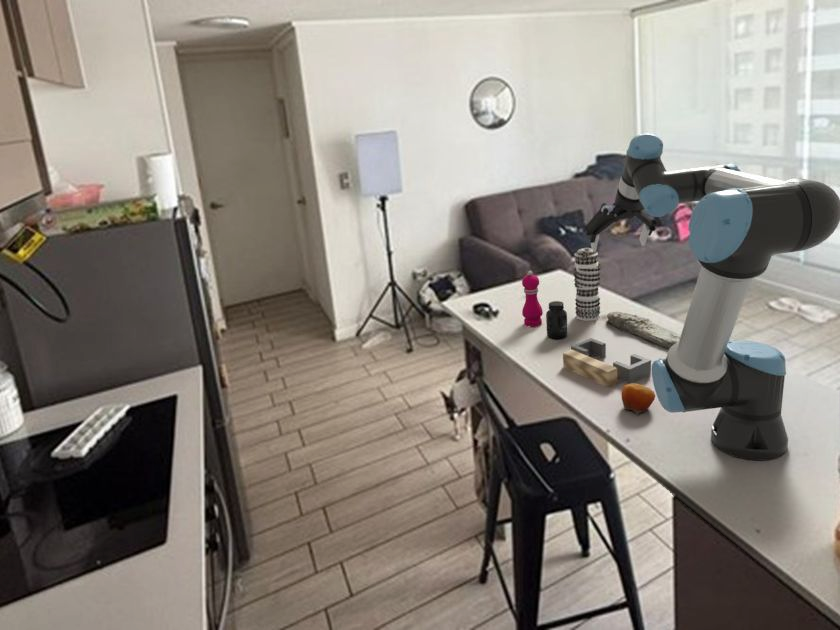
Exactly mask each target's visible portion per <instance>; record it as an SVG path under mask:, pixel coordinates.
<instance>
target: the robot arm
mask: <svg viewBox="0 0 840 630" xmlns="http://www.w3.org/2000/svg"><path fill="white" fill-rule="evenodd" d="M663 148H664V142H663V140H661V138H660V137H659V136H657V135H656V134H652V133H641V134H637V135H636V136H634V137H632V139H631V140H630V142H629V146H628V148H627V150H626V155H625V160H624V164H623V168H622V171H621V175H620V180H619V182H618V188H617V189H616V193H615V198H614V203H613V204H611V205H607V204H606V203H602V204H601V205H600V208H599V210H598V211H597V212H596V213H595V214H594V216H593V217H592V218H591V219H590V220H589V222H587V224H586V225H585V226H584V227H583V228H584V231H585V233H586V236H588V237H589V238H588V239H589V240H590V241H589V242H590V248H592V250H593V252H597V249H598V245H599V240H600V233H602V232H603V231H605V230H606V229H607V228H608V227H610V226H611V225H612V224H613V223H617V222H619V221H620V220H625V219H634V217H636V218H637V219H638V220H641V222H642V223H643V225H642V229H641V232H640V235H639V238H638V240H639V242H640V244H641V247H645V246H646V242H647V240H648V237H649V236H651V235H652V233H653V232H655V231H656V227H659V228H660V227H662V226H663V224H662V221H661V217H664V216H665V215H667V214H672V213H673V212H674V211H675V210H676V209H677V207H679V205H680V204H688V203H693V202H697V203H696V204H695V206H694V208H693V210H692V212H691V215H690V218H689V222H688V229H687V230H688V231H689V235H688V237H687V238H688V245H689V248H690V251H691V253H692V254H693V256H694V257H695V259H696V261H697V263H698V264H699V266H700V269H699V273H698V277H697V279H696V283H695V287H694V290H693V294H692V297H691V300H690V303H689V307H688V311H687V314H686V318H685V321H684V324H683V328H682V330H681V334H680V335H681V337H680V340H679V342H678V343H676V344H674V345H673V346H672V347H671V348H670V349H668V352H667V354H666V358H665V359H664V358H663V359H662V358H658V359H657V360H655V361H653V362H652V363H651V377H652V383H653V387H654V388H653V389H654V392H655V395H656V396H657V399H658V402H659V403H660V405H661V406H662V408H663V409H664V410H665V411H666V412H668V413H686V412H695V411H704V410H712V409H719V408H720V409H719V411H718V413H717V415H716V417H715V419H714V422H713V423H712V426H711V430H710V431H711V433H710V439H711V442H712V443H713V445H714V446H715V447H716V448H717V449H719V450H720V451H722V452H724V453H725V454H728V455H730V456H732V457H736V458H739V459H744V460H750V461H769V460H775V459H778V458H780V457H782V456H783V455H784V454H785V453H786V452H787V450H788V447H789V445H788V444H789V435H788V433H787V431H786V426H785V423H784V419H783V416H782V408H783V398H784V389H785V388H784V387H785V378H786V377H785V376H786V375H787V371H786V365H787V364H786V357H785V355H784V354H783V353H782V351H780V350H779V349H778V348H776V347H774V346H772V345H769V344H767V343H762V342H759V341H754V340H745V339H743V340H741V339H739V340H738V339H736V340H731V341H730V339H731V337H732V333H733V330H734V328H735V325H736V323H737V321H738V318H739V315H740V313H741V310H742V307H743V305H744V302H745V300H746V297H747V294H748V291H749V289H750V286H751V283H752V281H753V280H754V279H755V278H756V279H757V278H758V277H760V276H762V275H763V274H764V273H765V272H766V270H767V269H768V267H769V264H770V262H771V260H772V257H773V256H774V255H781V254H788V253H795V252H801V251H806V250H809V249H813V248H814V247H817V246H819V245H821V244H822V243H824V242H825V241H826V240H828V238H830V237H831V235H833V234H834V232H835V231H836V229H837V228H838V226H839V224H840V197H839V195H838V194H837V193H836V191H835V190H834V189H833V188H832V187H830V185H827V184H825V183H824V182H820V181H816V180H811V179H805V178H791V179H789V180H786V181H785V180H780V179H776V178H770V177H765V176H762V175H761V176H760V175H757V174H751V173H749V172H748V173H747V172H741V169H740V168H738V166H737V165H736V164H732V163H729V164H721V163H720V164H716V165H711V166H702V167H695V168H687V169H678V170H670V171H667V169H666V167H665V165H664V163H663V161H662V159H661V156H662V154H663ZM643 210H644V211H645V212H644V211H643ZM648 215H649V216H648ZM650 216H651V217H652V218H653V219H651V218H650Z"/></svg>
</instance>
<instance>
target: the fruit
mask: <svg viewBox="0 0 840 630" xmlns="http://www.w3.org/2000/svg"><path fill="white" fill-rule="evenodd" d="M655 398H656V392H655V390H652V389H651V388H650V387H648V386H646V385H642V384H641V383H639V384H638V383H635V382H633V383H631V384H628V383H627V384H625V385H623V387H622V390H621V401H622V406H623V407H624V408H623V409H624V411H626V410H629V411H630V410H631V411H633V412H635V413H636V415H637V417H639V413H641V412H646V411H647V410H648V409H649V408H650V407H651V405H652V404H653V402H654V401H655V400H656V399H655Z"/></svg>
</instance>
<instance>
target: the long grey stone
mask: <svg viewBox="0 0 840 630" xmlns="http://www.w3.org/2000/svg"><path fill="white" fill-rule="evenodd" d="M606 318H607V321H608V322H607V323H611V324H612V325H613V326H614V327H615V328H618V329H619V330H620V331H623V332H625V333H629V334H630V335H631V334H632V335H634V336H639V337H640V338H643V340H646V341H650V342H652V343H654V344H656V345H658V346H660V347H662V348H666V349H668V350H669V349H670V348H671V347H672V346H673V345H674V344H676V343H678V342H679V340H680V337H681V334H678V333H676V332H674V331H672V330H669V329H668V328H665V327H662V326H660V325H658V324H656V323H653V322H652V321H651V320H650V319H649V318H646V317H642V316H640V315H637V314H631V313H626V312H622V311H611V312H608V314H607V316H606Z"/></svg>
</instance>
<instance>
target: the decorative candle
mask: <svg viewBox="0 0 840 630" xmlns="http://www.w3.org/2000/svg"><path fill="white" fill-rule="evenodd" d="M573 255H574V256H575V262H574V268H573V277H574V279H573V280H574V281H573V282H574V287H575V289H576V293H575V300H574V301H575V306H576V307H575V308H574V309H575V314H576V315H575V317H576V319H577V320H579V321H584V322H585V321H586V322H590V321H596V319H597V320H598V318H599V319H600V317H601V311H600V310H601V306H600V304H601V302H600V301H601V298H600V292H599V287H600V285H601V283H600V282H599V281H600V280H601V277H600V275H601V272H599V271H601V267H600V266H601V263H599V257H598V255H599V252H598V251H596V252H593V250H592V247H582V248H579V249H578V250H576V252H575V253H574V254H573Z"/></svg>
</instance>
